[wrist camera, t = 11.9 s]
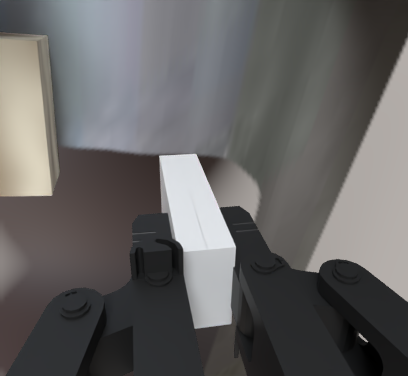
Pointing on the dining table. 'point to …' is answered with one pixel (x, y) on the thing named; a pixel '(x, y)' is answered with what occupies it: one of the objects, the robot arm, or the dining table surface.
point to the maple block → (27, 117)
